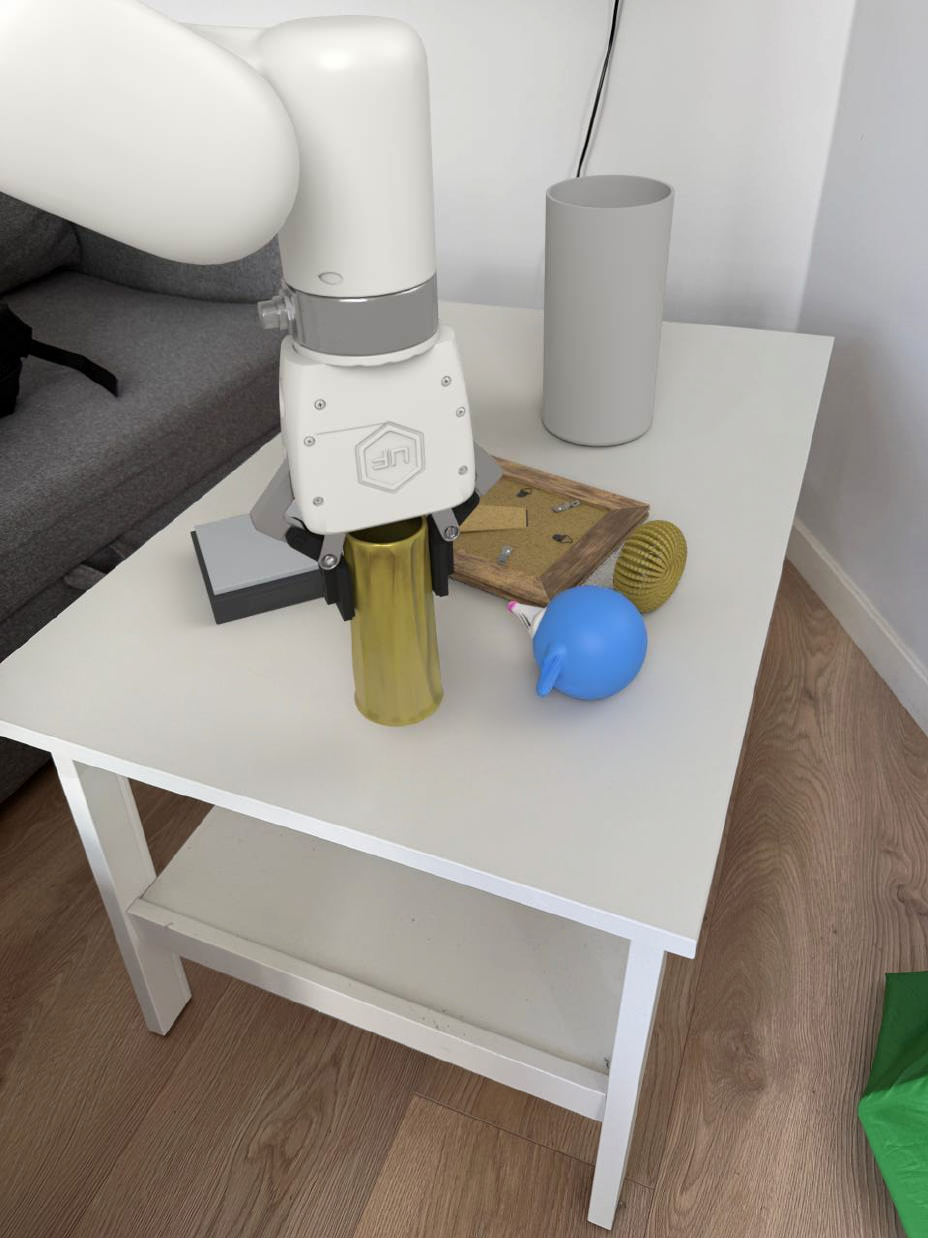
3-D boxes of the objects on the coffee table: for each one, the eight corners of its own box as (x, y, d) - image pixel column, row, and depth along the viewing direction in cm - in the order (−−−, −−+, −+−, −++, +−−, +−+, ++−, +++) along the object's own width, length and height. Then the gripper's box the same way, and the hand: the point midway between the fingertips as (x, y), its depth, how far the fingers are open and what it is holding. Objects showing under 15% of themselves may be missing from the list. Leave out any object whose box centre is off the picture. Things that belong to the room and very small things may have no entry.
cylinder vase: (562, 392, 112) (568, 171, 96) (663, 407, 108) (687, 178, 92) (527, 439, 103) (528, 203, 87) (635, 457, 99) (657, 213, 83)
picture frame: (342, 535, 89) (549, 618, 78) (339, 520, 88) (549, 601, 77) (454, 455, 101) (649, 517, 90) (453, 441, 100) (650, 502, 88)
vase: (421, 657, 66) (410, 485, 57) (458, 710, 62) (452, 532, 53) (342, 683, 64) (317, 509, 55) (374, 740, 60) (353, 561, 51)
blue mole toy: (551, 608, 79) (553, 527, 74) (673, 663, 73) (684, 578, 68) (463, 684, 72) (458, 600, 67) (590, 752, 66) (595, 665, 61)
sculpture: (650, 573, 82) (658, 497, 77) (690, 590, 80) (701, 513, 75) (600, 618, 78) (606, 540, 73) (641, 636, 76) (650, 558, 71)
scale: (216, 625, 79) (208, 597, 77) (195, 553, 88) (188, 525, 86) (349, 590, 82) (345, 562, 80) (316, 523, 91) (312, 497, 89)
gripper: (204, 366, 41) (267, 668, 52) (549, 308, 46) (539, 597, 57) (181, 311, 47) (243, 595, 58) (491, 265, 51) (492, 536, 63)
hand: (389, 593), depth 57 cm, fingers closed on vase, 5 cm apart
